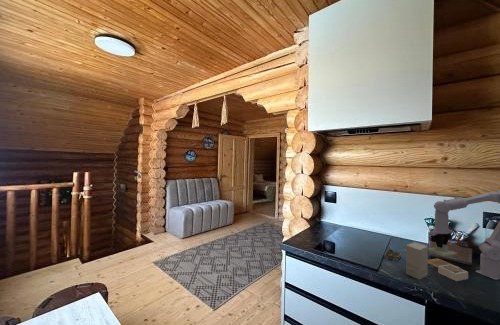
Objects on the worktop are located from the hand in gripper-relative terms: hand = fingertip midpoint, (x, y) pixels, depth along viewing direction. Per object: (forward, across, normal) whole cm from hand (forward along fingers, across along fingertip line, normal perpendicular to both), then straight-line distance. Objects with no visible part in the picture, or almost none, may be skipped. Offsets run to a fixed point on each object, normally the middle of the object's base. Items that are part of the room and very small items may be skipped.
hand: (441, 246), depth 119 cm
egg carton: (+11, +18, -14) cm, 26 cm away
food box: (+11, +7, +10) cm, 16 cm away
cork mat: (+10, 0, 0) cm, 10 cm away
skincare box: (+11, +24, +5) cm, 27 cm away
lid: (+3, 0, 0) cm, 3 cm away
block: (+10, +7, +10) cm, 16 cm away
